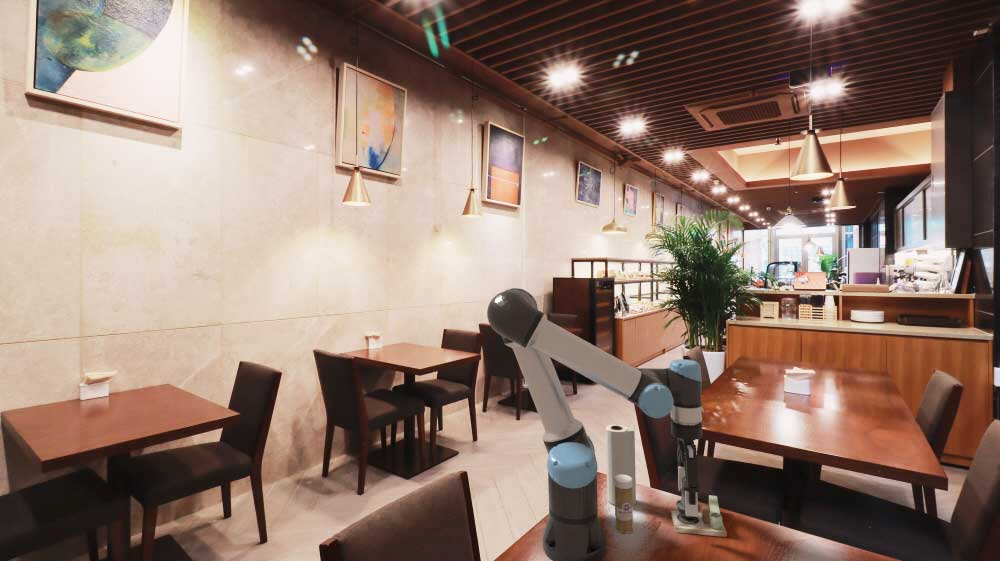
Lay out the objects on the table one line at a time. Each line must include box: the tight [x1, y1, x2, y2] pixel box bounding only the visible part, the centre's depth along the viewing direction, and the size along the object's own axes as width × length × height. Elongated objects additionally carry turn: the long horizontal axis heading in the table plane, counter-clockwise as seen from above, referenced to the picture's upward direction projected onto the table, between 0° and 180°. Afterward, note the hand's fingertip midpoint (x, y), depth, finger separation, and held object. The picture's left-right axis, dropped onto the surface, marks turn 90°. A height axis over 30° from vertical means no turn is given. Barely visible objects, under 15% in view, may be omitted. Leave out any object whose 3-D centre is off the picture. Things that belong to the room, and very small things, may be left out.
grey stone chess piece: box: [675, 476, 701, 524], centre depth 122 cm, size 6×6×12 cm
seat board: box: [670, 505, 728, 538], centre depth 122 cm, size 12×9×4 cm
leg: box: [708, 494, 723, 529], centre depth 123 cm, size 12×3×3 cm, turn 159°
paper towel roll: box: [605, 424, 637, 506], centre depth 134 cm, size 7×6×21 cm
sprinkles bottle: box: [614, 475, 634, 534], centre depth 120 cm, size 5×5×14 cm
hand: (687, 502), depth 122 cm, fingers open, 12 cm apart
